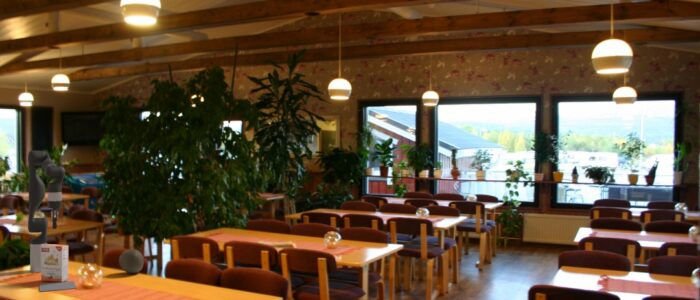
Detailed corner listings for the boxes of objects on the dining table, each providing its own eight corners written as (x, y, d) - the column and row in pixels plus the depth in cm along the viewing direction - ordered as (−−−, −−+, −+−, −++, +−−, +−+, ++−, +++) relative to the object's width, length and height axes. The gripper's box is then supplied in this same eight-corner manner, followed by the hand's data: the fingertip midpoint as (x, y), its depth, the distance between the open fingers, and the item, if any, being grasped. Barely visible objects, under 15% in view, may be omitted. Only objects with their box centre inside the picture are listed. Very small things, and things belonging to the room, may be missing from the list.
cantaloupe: (130, 270, 380) (130, 246, 380) (148, 272, 375) (148, 248, 375) (114, 274, 367) (114, 250, 367) (132, 277, 362) (132, 252, 361)
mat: (39, 284, 340) (39, 283, 340) (74, 281, 348) (74, 280, 348) (39, 292, 324) (39, 291, 324) (76, 288, 332) (76, 287, 332)
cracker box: (40, 281, 347) (40, 245, 347) (48, 279, 353) (48, 243, 353) (61, 282, 343) (61, 246, 344) (68, 280, 349) (68, 244, 349)
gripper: (47, 198, 359) (47, 227, 359) (48, 201, 347) (47, 230, 348) (61, 198, 363) (61, 226, 363) (62, 200, 351) (62, 230, 351)
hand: (54, 228), depth 355 cm, fingers closed
